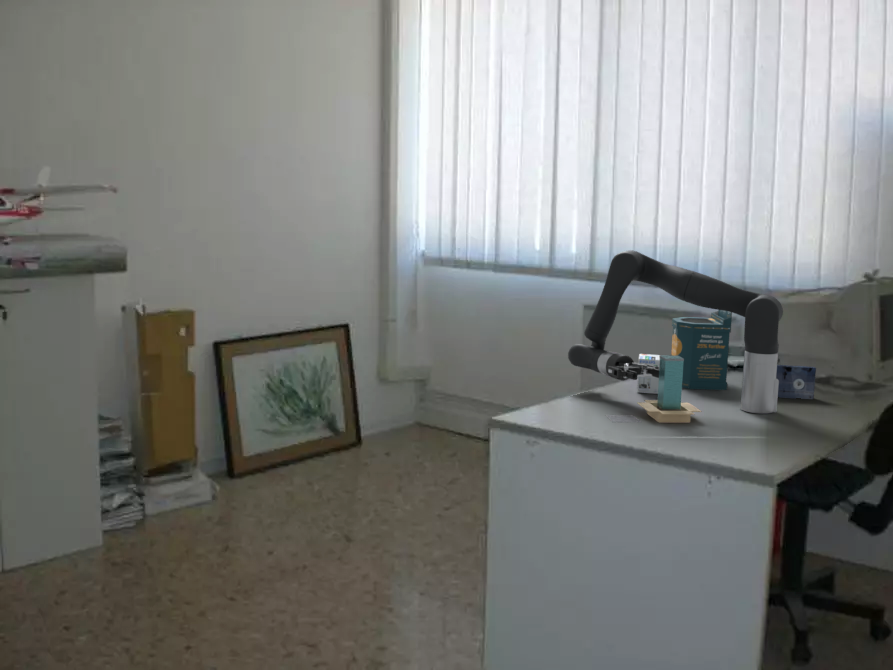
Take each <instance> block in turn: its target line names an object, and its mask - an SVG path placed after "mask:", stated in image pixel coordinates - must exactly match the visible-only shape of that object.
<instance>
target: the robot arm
mask: <svg viewBox="0 0 893 670" xmlns="http://www.w3.org/2000/svg"><path fill="white" fill-rule="evenodd" d="M609 264H610V265H609V268H608V272H607V276H606V278H605V282H604V286H603V288H602V290H601V291H602V292H601V294H600V296H599V299H598V301H597V304H596V305H595V308H594V310H593V312H592V314H591V316H590V318H589V321H588V323H587V324H586V327H585V329H584V336H585V338H586V339H588V340H589V341H590V342H591V345H587V344H582V343H575V344H573V345H572V346H570V348H569V350H568V352H567V359H568V361H569V362H570V363H571V364H572V365H573V366H575V367H578V368H583V369H588V370H592V371H594V372H597V373H599V374H602V375H605V377H609V378H612V379H616V380H618V381H627V380H629V379H630V380H632V381H638V376H640V377H646V376H653V377H657V378H659V367H658V366H654V365H650V364H647V363H645V364H638V362H634V360H633V358H632V357H631V356H629V355H626V354H622V353H619V352H615V351H608V350H605V346H606V341H607V338H608V336H609V333H610V331H611V330H612V327H613V325H614V323H615V320H616V318H617V313H618V309H619V306H620V303H621V300H622V298H623V295H624V294H625V291H626V290H627V289H628V287H629V286H630V285H631V283H632V281H635V282H641V283H644V284H648V285H652V286H654V287H658V288H659V289H661V290H663V291H664V292H666V293H667V294H669V295H671V296H672V297H674V298H676V299H678V300H681V301H683V302H685V303H687V304H688V303H689V304H691V305H694V306H697V307H702V308H706V309H711V310H712V309H713V310H717V311H718V310H724V311H729V312H732V314H736V315H738V316H741V317H743V318H744V331H743V333H744V335H743V340H744V341H743V342H744V354H743V355H744V356H743V367H742V369H743V371H742V381H741V395H740V397H741V399H740V410H741V411H742V412H743V411H744V412H747V413H753V414H771V413H777V409H778V408H777V407H778V385H779V380H778V379H776V373H777V365H778V358H779V357H778V356H779V340H778V336H779V323H780V321H781V319H782V318H783V315H784V309H783V308H784V307H783V305H782V303H781V302H780V301H779V300H778V299H777V298H776V297H774V296H772V295H769V294H763V293H758V292H753V291H749V290H746V289H742V288H738V287H737V286H736V287H735V286H734V285H732V284H730V283H726V282H724V281H722V280H719V279H717V278H714V277H711V276H709V275H706V274H704V273H700V272H699V271H698V272H697V271H694V270H691V269H688V268H683V267H680V266H676V265H672V264H668V263H664V262H662V261H659V260H656V259H654V258H651V257H650V256H648V255H645V254H643V253H642V252H638V251H636V250H631V249H630V250H624V251H621V252H619V253H616V254H615V255H614V257H612V259H611V261H610V263H609ZM642 370H644V374H641V372H642Z"/></svg>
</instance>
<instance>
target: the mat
mask: <svg viewBox="0 0 893 670" xmlns="http://www.w3.org/2000/svg"><path fill="white" fill-rule="evenodd" d="M604 416H605V417H607V419H609V420H610V421H611V422H612V423H642V421H641V420H640V419H638V418H637V417H636V416H635V415H634V414H625V415H624V414H605V415H604Z"/></svg>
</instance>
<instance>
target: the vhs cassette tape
mask: <svg viewBox="0 0 893 670" xmlns="http://www.w3.org/2000/svg"><path fill="white" fill-rule="evenodd" d="M816 373H817V367H816V366H807V365H806V366H805V365H789V364H788V365H786V364H777V373H776V379H778V380H779V385H778V397H779V398H782V399H796V398H801V400H814V397H815V388H816V387H815V385H816V375H817V374H816Z"/></svg>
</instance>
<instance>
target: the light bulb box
mask: <svg viewBox="0 0 893 670" xmlns="http://www.w3.org/2000/svg"><path fill="white" fill-rule="evenodd" d="M637 363H638V364H645V363H647V364H650V365H654V366H658V367H659V366H660V354H650V353H646V354H645V353H639V354H638V362H637ZM641 374H644V370H642V372H641ZM658 383H659V378H657V377H653V376H646V377H640V376H637V387H636V389H637V390H636V393H640V394H653V395H654V394H655V395H656V394H657V395H658Z"/></svg>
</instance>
